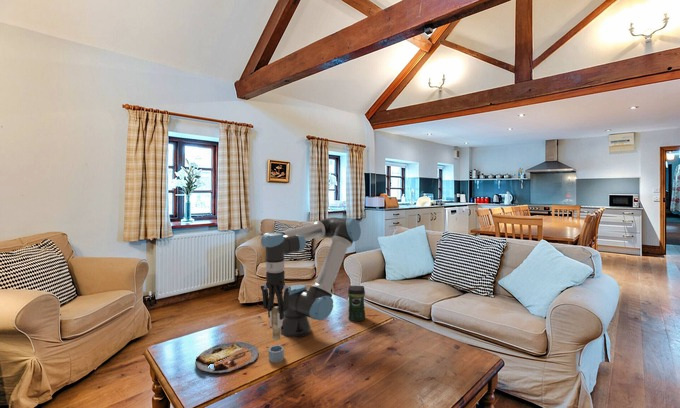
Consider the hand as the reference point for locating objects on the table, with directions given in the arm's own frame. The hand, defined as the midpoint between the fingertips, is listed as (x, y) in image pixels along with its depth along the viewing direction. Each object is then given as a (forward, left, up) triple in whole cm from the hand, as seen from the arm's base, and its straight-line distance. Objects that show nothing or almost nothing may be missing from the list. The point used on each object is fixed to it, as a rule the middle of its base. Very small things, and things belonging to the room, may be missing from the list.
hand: (276, 325), depth 132 cm
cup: (0, 0, -15) cm, 15 cm away
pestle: (0, 0, -5) cm, 5 cm away
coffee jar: (-52, +20, -15) cm, 58 cm away
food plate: (+7, -20, -15) cm, 26 cm away
